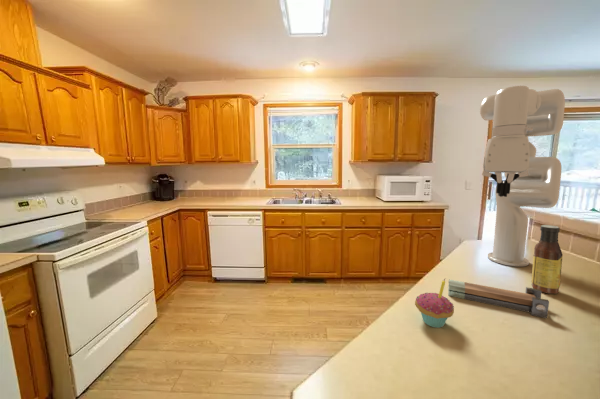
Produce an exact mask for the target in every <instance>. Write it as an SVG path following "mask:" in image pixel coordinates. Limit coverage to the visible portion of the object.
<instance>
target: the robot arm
mask: <svg viewBox="0 0 600 399" xmlns="http://www.w3.org/2000/svg"><path fill="white" fill-rule="evenodd" d="M565 106H566V99H565V95H564V92H563V91H562V90H561V89H559V88H551V89H546V90H545V89H544V90H540V91H537V90H536V89H532V88H529V87H528V86H526V85H515V86H513V85H512V86H508V87H504V88H501V89H499V90H498V91H497V92H496V93H495V94H493V95H489V96H488V95H487V96H486V97H485V98H484V99H482V102H481V104H480V105H479V114H480V116H481V118H482V119H483V120H484V121H492V131H491V138H489V139H488V140H487V142H486V146H485V152H484V156H483V158H484V159H483V164H482V165H483V166H482V168H483V171H482V173H481V175H482V176H483V177H488V178H492V179H493V180H494V181H495V183H496V187H495V200H496V201H495V202H496V204H495V205H496V214H495V226H494V236H493V237H494V238H493V246H492V247H493V249H492V252H489V253H488V254H487V258H488V259H489V260H490V261H491V262H494V263H497V264H501V265H504V266H508V267H509V266H510V267H517V268H519V267H527V266H529V265H530V260H529V259H527V258H526V257H525V253H526V244H527V234H528V226H529V217H528V214H526V212H525V211H524V210H523V209H522V207H525V208H526V207H527V208H540V209H541V208H542V209H551V208H553V207H555V206H556V205H557V204H558V201H559V197H560V189H561V181H562V180H561V179H562V163H561V161H560V159H558V158H557V157H554V156H536V154H537V147H535V145H533V143H532V142H530V140H529V137H540V136H541V137H542V136H545V137H546V136H552V135H556V134H558V133H560V132H561V130H562V129H563V126H564V120H565V119H564V117H565ZM503 173H504V177H505V179H504V180H503V176H502V174H503Z"/></svg>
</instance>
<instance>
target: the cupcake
mask: <svg viewBox="0 0 600 399" xmlns="http://www.w3.org/2000/svg"><path fill="white" fill-rule="evenodd" d="M446 279H447V278H444V279H443V280H442V281H441V284H440V287H439V288H440V289H439V292H438V293H437V292H425V293H420V294H419V295H418V296H416V298H415V301H414V306H415V307H416V308H417V310H418V311H419V312H420V314H421V318H422V321H423V322H424V324H426V325H427V326H430V327H432V328H438V329H439V328H443V327H444V325H445V324H446V322H447V320H448V318H451V317H453V316H454V313H455V311H454V310H455V307H454V304H453V302H451V301H450V299H449V298H447V297H446V296H444V295H443V292H444V289H445V285H446Z"/></svg>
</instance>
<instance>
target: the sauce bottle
mask: <svg viewBox="0 0 600 399" xmlns="http://www.w3.org/2000/svg"><path fill="white" fill-rule="evenodd" d="M539 230H540V237H539V238H540V239H539V241H538V242H537V243H535V246H534V254H533V257H532V258H533V259H532V270H531V271H532V272H531V281H530V282H531V288H534V289H539V290H541V291H542V292H541V293H545V294H552V295H555V294H559V291H560V288H561V287H560V286H561V276H562V268H563V267H562V266H563V256H564V255H563V254H564V253H563V252H562V250H561V247H560V243H559V233H560V227H559V226H557V225H549V224H542V225H540V228H539Z"/></svg>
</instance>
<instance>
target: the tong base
mask: <svg viewBox="0 0 600 399" xmlns="http://www.w3.org/2000/svg"><path fill="white" fill-rule="evenodd" d="M447 288H448V293H447V294H448V297H455V298H458V299H463V300H468V301H473V302H479V303H483V304H488V305H493V306H498V307H501V308H502V307H503V308H506V309H507V308H508V309H512V310H517V311H522V312H526V313H530V315H531V316H534V317H540V318H544V319H548V313H549V305H550V301H549V300H548V299H546V298H545V299H544V298H542V293H543V292H542V291H541V290H539V289H534V288H533V287H528V286H526V287H525V292H524V293H527V294H532V295H535V297H536V298H535V297H532V303H531V306H529V305H524V304H519V303H514V302H508V301H503V300H498V299H493V298H488V297H483V296H478V295H473V294H468V293H463V292H458V291H453V290H449V287H447Z"/></svg>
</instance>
